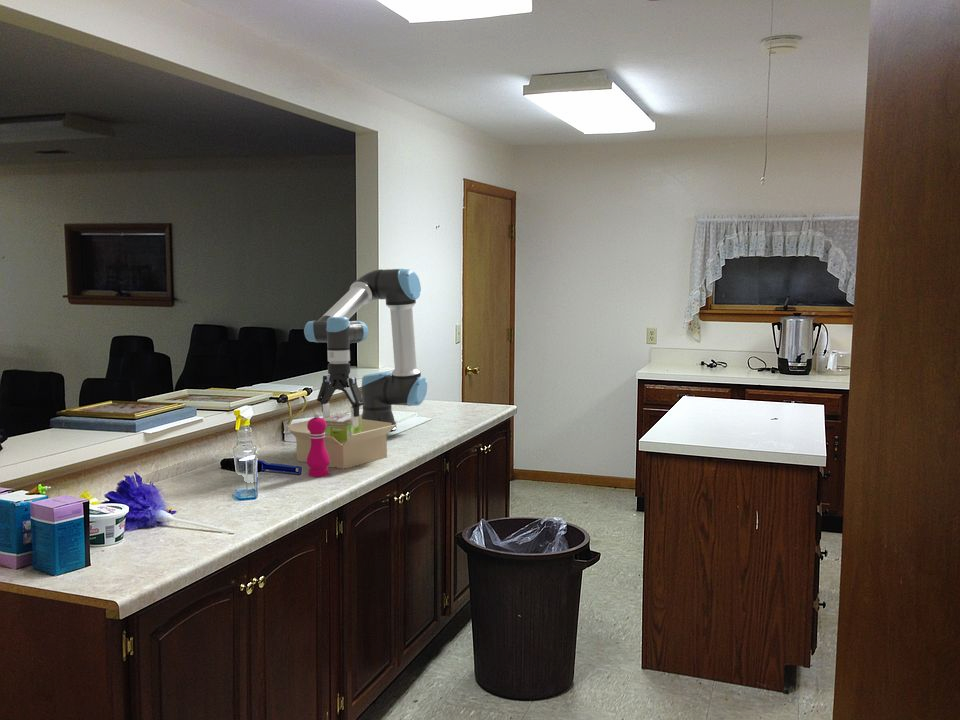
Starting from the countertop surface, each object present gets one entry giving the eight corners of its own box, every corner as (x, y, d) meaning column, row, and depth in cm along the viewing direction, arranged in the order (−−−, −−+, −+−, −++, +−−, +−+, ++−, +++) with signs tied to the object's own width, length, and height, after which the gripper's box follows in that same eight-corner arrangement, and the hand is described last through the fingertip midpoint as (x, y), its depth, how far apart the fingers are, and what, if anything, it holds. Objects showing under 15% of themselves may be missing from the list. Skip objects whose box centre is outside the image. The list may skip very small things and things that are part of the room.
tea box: (348, 464, 281) (347, 420, 279) (320, 463, 283) (318, 420, 281) (363, 454, 295) (362, 413, 294) (336, 453, 297) (335, 412, 296)
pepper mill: (322, 478, 263) (320, 415, 260) (302, 476, 265) (300, 414, 263) (334, 472, 269) (332, 411, 267) (315, 471, 272) (312, 410, 270)
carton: (339, 446, 310) (338, 414, 309) (404, 456, 291) (403, 422, 290) (279, 461, 287) (277, 426, 286) (345, 473, 268) (344, 436, 267)
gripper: (305, 361, 290) (307, 422, 292) (357, 365, 275) (359, 429, 277) (321, 359, 296) (323, 419, 298) (373, 363, 281) (374, 426, 283)
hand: (340, 424), depth 287 cm, fingers open, 13 cm apart
